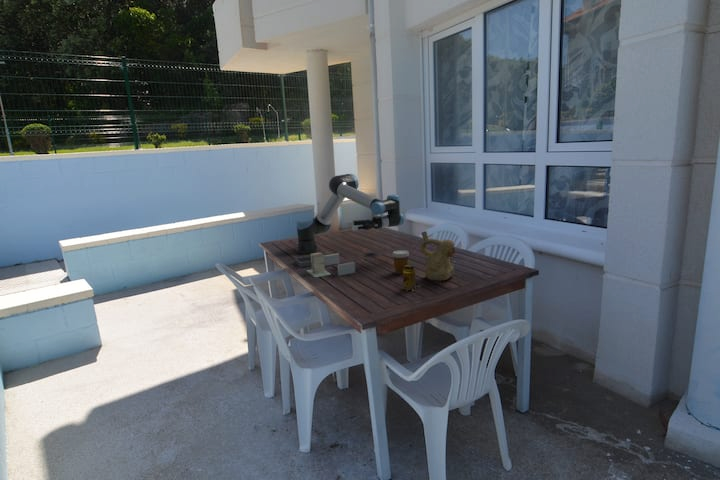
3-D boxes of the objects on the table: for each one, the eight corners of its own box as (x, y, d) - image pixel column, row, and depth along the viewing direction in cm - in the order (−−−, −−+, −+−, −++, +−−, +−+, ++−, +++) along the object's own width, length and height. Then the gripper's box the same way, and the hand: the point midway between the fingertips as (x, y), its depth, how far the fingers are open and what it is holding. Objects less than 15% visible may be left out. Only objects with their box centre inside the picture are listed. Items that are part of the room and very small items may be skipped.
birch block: (312, 271, 254) (310, 253, 251) (321, 270, 256) (320, 252, 253) (315, 274, 248) (313, 256, 246) (325, 272, 251) (323, 254, 248)
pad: (306, 270, 257) (306, 270, 257) (321, 267, 261) (321, 267, 261) (314, 277, 243) (314, 277, 243) (331, 274, 247) (331, 274, 247)
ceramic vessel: (450, 284, 219) (449, 236, 213) (415, 279, 229) (413, 234, 223) (461, 274, 233) (461, 230, 227) (427, 270, 243) (426, 227, 237)
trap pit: (294, 262, 276) (294, 258, 275) (315, 259, 281) (315, 254, 280) (301, 268, 263) (300, 263, 262) (322, 264, 269) (322, 259, 268)
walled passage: (323, 265, 267) (323, 255, 266) (338, 262, 271) (337, 253, 269) (339, 275, 244) (338, 265, 242) (355, 272, 248) (354, 262, 246)
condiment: (400, 289, 216) (399, 266, 214) (409, 284, 223) (408, 262, 220) (412, 291, 212) (411, 268, 209) (421, 286, 218) (420, 264, 215)
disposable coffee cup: (398, 276, 237) (398, 255, 234) (389, 272, 245) (388, 251, 242) (413, 272, 241) (412, 252, 238) (403, 268, 249) (403, 249, 247)
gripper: (389, 231, 251) (356, 236, 243) (371, 225, 273) (340, 229, 265) (389, 218, 249) (355, 223, 241) (371, 213, 271) (339, 217, 263)
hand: (347, 226), depth 253 cm, fingers open, 13 cm apart
